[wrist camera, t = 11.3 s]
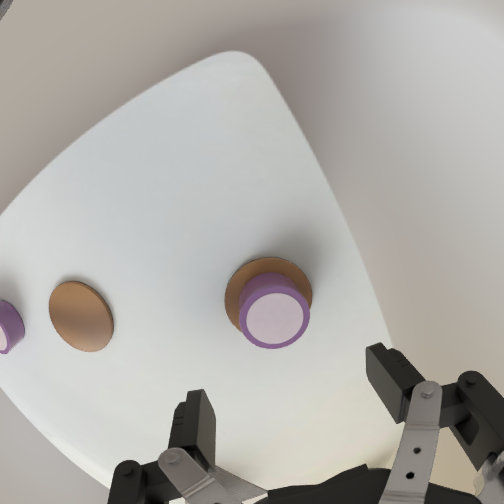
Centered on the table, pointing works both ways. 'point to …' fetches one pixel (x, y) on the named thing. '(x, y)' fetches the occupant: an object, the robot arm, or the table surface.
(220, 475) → the architectural model
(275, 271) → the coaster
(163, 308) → the table surface
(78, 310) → the brown wooden coaster
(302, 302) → the purple short cylinder
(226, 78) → the table surface
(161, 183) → the table surface
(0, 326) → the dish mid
